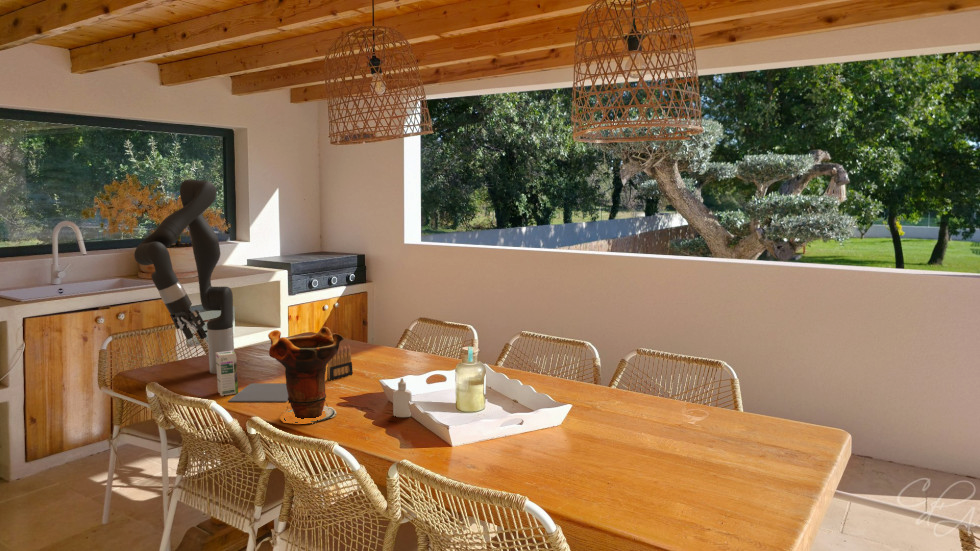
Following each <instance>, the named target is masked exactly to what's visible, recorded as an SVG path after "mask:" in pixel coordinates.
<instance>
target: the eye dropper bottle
mask: <svg viewBox="0 0 980 551" xmlns="http://www.w3.org/2000/svg"><path fill="white" fill-rule="evenodd" d="M397 387H398V388H397V389H395V390H394V391H393V393H392V411H393V416H394V417H395V416H396V417H397V418H411V416H412V415H411V412H410V409H409V406H408V402H409V401H410V402H412V401H413V400H412V392H411V390H408V389H407V382H406V381H404V378H403V377H401V378H400V380H399V381H398V382H397ZM412 403H413V402H412Z"/></svg>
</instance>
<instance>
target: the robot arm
mask: <svg viewBox="0 0 980 551" xmlns="http://www.w3.org/2000/svg"><path fill="white" fill-rule="evenodd" d="M179 187H180V188H179V195H180V196H179V197H180V201H181V204H182V207H181V208H180V209H178V210H176V211H175V212H173V213H171V214H169V215H167V217H165V218H164V219H163V220H162V221H161V222H160V224H159V225H158V226H157V227H156V228H155V230H154V231H153V232H152V233H151V234H150V235H148V236H147V237H146V238H145V239H143V241H141V242H140V243H139V244H138V245H137V246H136V248H135V250H134V254H133V257H134V259H135V262H136V263H137V264H139V265H142V266H151V265H153V266H154V267H153V268H154V271H153V272H152V273H151V278H150V279H151V280H152V282H153V284H154V286H155V287H156V289H157V291H158V294H159V296H160V298H161V300H162V302H163V303H164V305H165V307H166V309H167V311H168V312H169V317H170V319H171V320H172V322H173V324H174V326H175V328H176V330H180V331H182V333H183V334H184V336H185V339H187V340H191V339H192V338H194V334H193V333H192V331H191V329H190V327H192V328H193V329H194V330H195V332H196V334H197V335H198V337H199V339H200V340H204V339H206V338H207V347H208V350H207V351H208V364H209V373H210V374H214V375H217V368H216V353H217V352H225V351H234V352H235V342H234V339H235V338H234V327H233V326H234V324H233V322H234V306H233V305H234V296H233V291H232V289H231V287H229V286H212V280H211V279H212V274H213V272H214V269H215V268H216V266H217V264H218V263H219V260H220V258H221V248H220V241H219V237H218V235H217V234H216V232H215V230H214V229H213V228H212V226H211V225H210V224H209V222H208V221H207V220H206V219H205V217H204V215H203V213H204V212H205V211H206V210H207V209H209V207H211V206H212V205H213V203H215V201H216V198H217V193H218V192H217V187H216V186H215V183H213V182H212V181H210V180H200V179H185V180H183V181H182V182H181V183H180V186H179ZM187 228H188V230H189V234H190V240H191V246H192V251H193V257H194V261H195V265H196V266H195V267H196V271H197V277H198V287H199V298H200V303H201V307H202V308H203V310H205V311H212V312H213V311H214V312H215V311H217V312H218V311H220V315H219V316H217V317H215V318H212V319H210V320H208V321H207V323H205V322H204V320H203V318H202V316H201V314H200V313H199V311H198V310H197V309H195V310H193V311H192V310H191V308H190V307H191V306H193V305H192V301H191V300H190V297H189V296H188V294H187V292H186V290H185V288H184V286H183V285H182V284H181V282H180V280H179V278H178V277H177V275H176V273H175V271H174V270H173V264H172V260H171V256H170V252H169V250H168V248H169V247H171V246H172V245H174V244H175V242H176V241H177V240H178V238H179V237H180V236H181V234H183V232H184V230H186V229H187ZM205 325H206V331H205V329H204V326H205ZM188 326H189V327H188ZM206 332H207V333H206Z"/></svg>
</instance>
